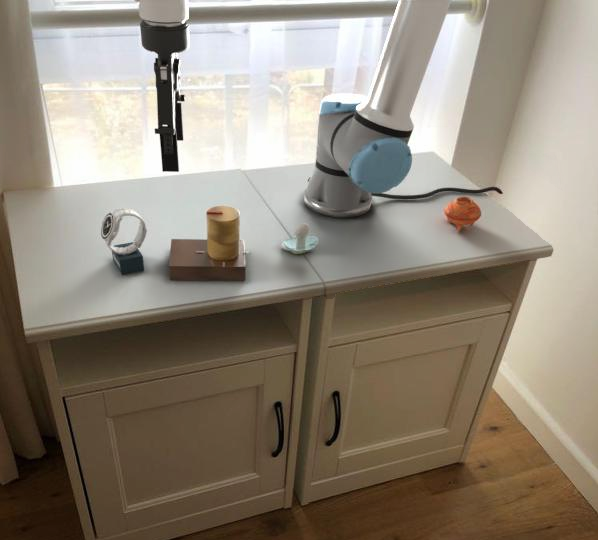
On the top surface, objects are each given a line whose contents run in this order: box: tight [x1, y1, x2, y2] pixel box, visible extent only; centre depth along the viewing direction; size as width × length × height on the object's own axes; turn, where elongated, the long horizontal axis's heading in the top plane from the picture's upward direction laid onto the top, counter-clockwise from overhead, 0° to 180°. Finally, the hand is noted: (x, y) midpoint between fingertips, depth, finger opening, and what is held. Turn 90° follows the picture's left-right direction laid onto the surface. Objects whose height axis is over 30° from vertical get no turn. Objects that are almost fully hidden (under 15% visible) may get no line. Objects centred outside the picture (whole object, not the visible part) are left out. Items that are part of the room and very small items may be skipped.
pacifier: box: [280, 222, 319, 255], centre depth 132 cm, size 7×6×6 cm
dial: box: [206, 205, 241, 261], centre depth 122 cm, size 6×6×8 cm
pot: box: [443, 196, 482, 233], centre depth 144 cm, size 8×8×7 cm
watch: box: [100, 208, 148, 276], centre depth 122 cm, size 6×8×11 cm
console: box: [168, 238, 251, 282], centre depth 126 cm, size 15×10×3 cm
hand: (173, 154), depth 118 cm, fingers open, 13 cm apart
